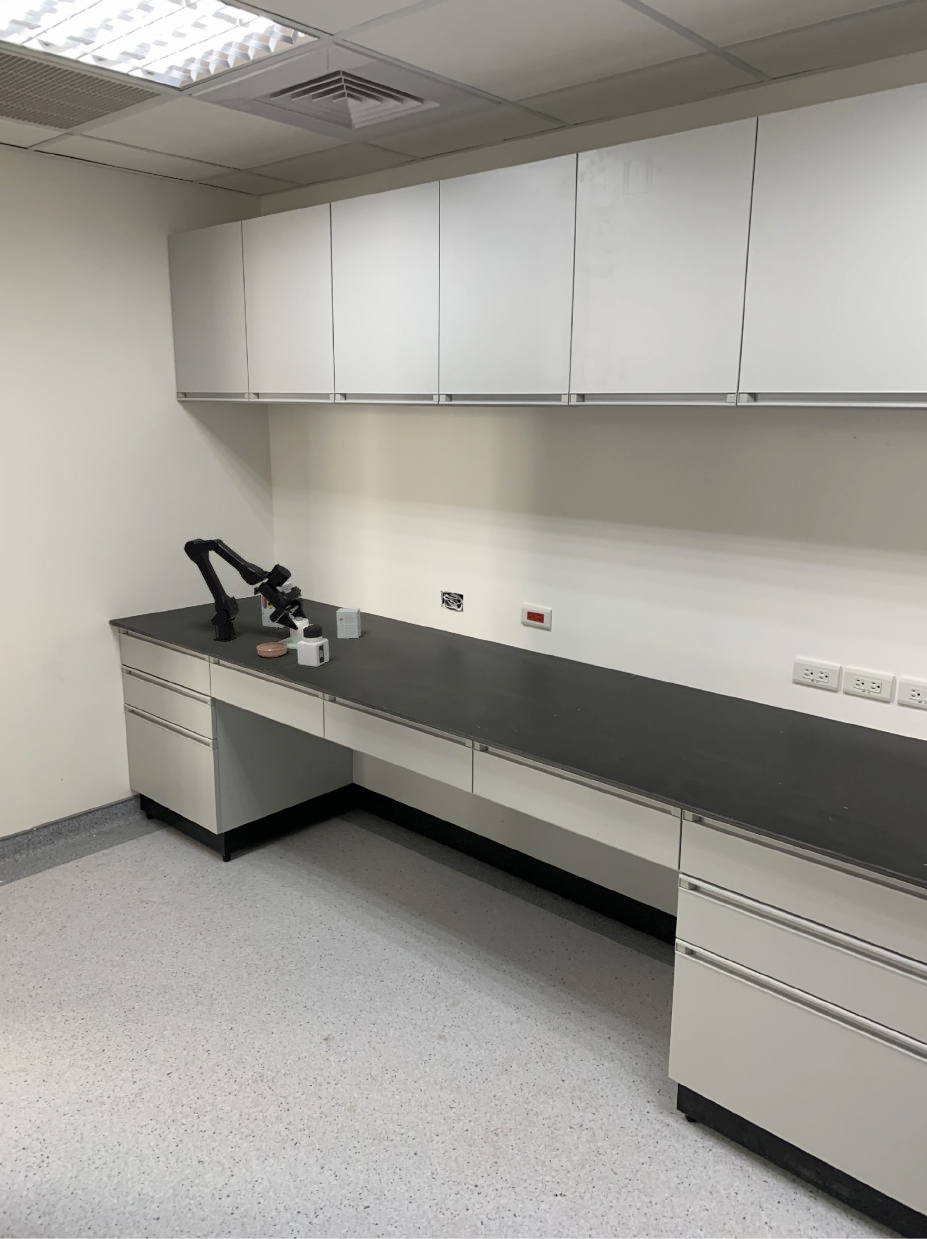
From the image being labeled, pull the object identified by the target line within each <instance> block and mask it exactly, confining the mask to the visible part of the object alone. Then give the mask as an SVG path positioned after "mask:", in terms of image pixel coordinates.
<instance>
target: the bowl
mask: <svg viewBox="0 0 927 1239" xmlns="http://www.w3.org/2000/svg"><path fill="white" fill-rule="evenodd" d="M256 650H257V655H259V656H261V657H264V658H277V657H282V656H283V655H284V654H285V655H286V653H287V651H288V648H287V644H285V643H280V642H279V641H277V642H273V641H272V642H270V641H269V642H263V643H260V644H258V645H257V646H256Z"/></svg>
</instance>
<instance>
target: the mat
mask: <svg viewBox="0 0 927 1239" xmlns="http://www.w3.org/2000/svg"><path fill="white" fill-rule="evenodd" d="M322 639H327V638H324V637H322ZM278 642H280V643H285V644H287V649H291V650H292V649H293V650H297V644H294V643H291V638H290V636H289V637H287V638H285V639H282V640H279V641H278Z"/></svg>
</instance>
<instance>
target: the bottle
mask: <svg viewBox="0 0 927 1239" xmlns="http://www.w3.org/2000/svg"><path fill="white" fill-rule="evenodd" d="M292 620H293V621H294V623H295V624H296V625H297V627H298V630H294V629H291V628H289V634H290V636H289V637H290V638H291V643H294V644H297V643H298V642H300V641H302V640H304V639H303V633H302V628H303V627H304V626H306V625H310V624H309V623H310V622H309V619H308V618H307V619H306V618H302V617H296V618H295V617H294V619H292Z"/></svg>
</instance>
